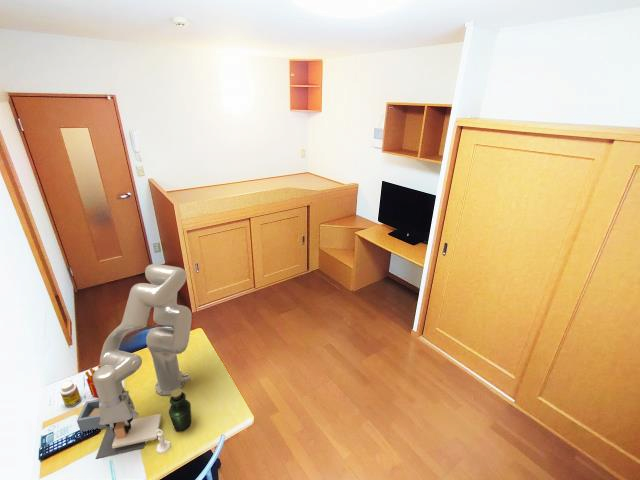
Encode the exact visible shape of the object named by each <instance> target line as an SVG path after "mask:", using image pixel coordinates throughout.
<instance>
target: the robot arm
mask: <svg viewBox="0 0 640 480" xmlns="http://www.w3.org/2000/svg"><path fill="white" fill-rule="evenodd" d="M144 274H145V278H146V280H147V282H149V283H146V282H139V283H135V284H134V285H132V287H131V288H130V291H129V295H128V299H127V301H126V302H127V303H126V306H125V309H124V313H123V317H122V320H121V322H120V324H119V325H118V326H117V327H115V328H114V330H112V332H110V333H109V335H108V336H107V338H106V339H105V340H104V343H103V345H102V349H101V353H100V357H99V365H100V366H101V368H97V369H96V370H97V371H96V370H95V371H96V372H95V373H94V375H93V382H94V385H95V388H96V391H97V394H98V397H99V398H98V397H97V398H98V399H99V400H100V402H99V414H100V419H101V420H100V422H99V424H100V425H106V426H108V427H110V429H112V430H113V433H115V432H114V429H115V426H116V423H117V422H122V421H123V422H124V424H125V426H124V428H125V431H126V434H128V432H129V430H130V429H131V424H130V422H131V421H132V420H133V419H138V417H139V414H140V413H139V412H138V411H136V410H135V405H134V401H133V399H132V398H131V396H130V394H129V390H125V388H124V386H123V383H122V382H123V380H126V379H127V378H129V377H130V376H132V375H133V374H135V373H136V372H137V371H138V370H139V369H140V368H141V367H142V363H143V359H142V357H141V356H140V355H139V354H137V353H133V352H128V351H123V350H120V346H121V343H122V341H123V339H124V337H125V336H126V335H127V334H129V333H131V332H132V331H136V330H140V329H144V328H145V327H147V325H148V321H149V317H150V313H151V309H152V308H153V314H152V318H153V322H154V324H157V325H160V326H156V327H154V328H152V329H150V330H149V331H148V333H147V335H146V337H145V343H146V344H145V345H146V346H147V349H148V350H149V352H150V355H151V357H152V362H153V367H154V371H155V375H156V380H157V381H156V383H155V386H154V390H155V392H156V394H158V395H159V396H164V397H165V396H166V397H167V396H172V395H171V393H172V392H173V391H174V390H175V389H181V390H182V388H183V387H184V385H185V382H190V381H192V377H191V376H190V375H189V373H185V374H184V373H183V372H182V370H180V366H179V360H178V355H181V354H183V353H184V352H185V351H186V349H187V348H188V345H189V342H190V335H191V327H192V316H193V314H192V311H191V309H190V308H189V307H188V306H185V305H181V304H178V302H177V299H178V292H179V291H180V290H181V288H182V287H183V286H184V284H185V283H186V281H187V272H186V270H185V269H184V268H182V267H179V266H173V265H166V264H160V263H152V264H148V265H147V266H146V267H145V270H144ZM163 326H164V327H163ZM169 327H170V328H169ZM115 436H116V435H115Z"/></svg>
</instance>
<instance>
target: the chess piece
mask: <svg viewBox="0 0 640 480" xmlns="http://www.w3.org/2000/svg"><path fill="white" fill-rule="evenodd" d="M157 432H158V433H157V440H158V441H159V443H158V444H157V446H156V449H155V450H156V453H157V454H158V455H163V454H165V453H167V452H168V451H169V450H170V448H171V442H170V441H169V440H168V439H167V440H166V439H165V435H164V431H163V429H160V428H159V430H157ZM164 439H165V440H164Z"/></svg>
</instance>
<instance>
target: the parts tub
mask: <svg viewBox="0 0 640 480" xmlns="http://www.w3.org/2000/svg"><path fill="white" fill-rule="evenodd" d="M99 402H100V400H99V398H98V399H93V400H87V401H86V402H84V405H83V407H82V410H81V411H80V413H79V415H78V417H77V420H76V422H77V425H78V428H79V431H80V433H81V432H82V431H86V430H91V429H96V428H98V429H100V430H106V429H107V428H110V427H108V426H106V425H100V424H99V422H100V420H101V419H100V414H99ZM100 430H99V431H100Z"/></svg>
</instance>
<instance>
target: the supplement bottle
mask: <svg viewBox="0 0 640 480" xmlns="http://www.w3.org/2000/svg"><path fill="white" fill-rule="evenodd" d="M60 388H61V389H60V395H61V398H62V401H63V403H64V406H65V407H67V408H73V407H74V406H76V405H78V404H79V403H80V401H81V399H82V398H81V395H80V391H79V389H78V386H77V384H76V383H74V382H73V381H71V380H70V381H66V382H64V383H63V384H61V387H60Z"/></svg>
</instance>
